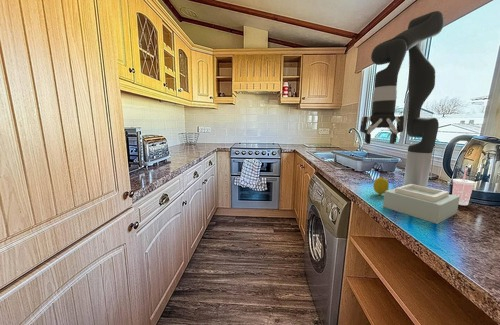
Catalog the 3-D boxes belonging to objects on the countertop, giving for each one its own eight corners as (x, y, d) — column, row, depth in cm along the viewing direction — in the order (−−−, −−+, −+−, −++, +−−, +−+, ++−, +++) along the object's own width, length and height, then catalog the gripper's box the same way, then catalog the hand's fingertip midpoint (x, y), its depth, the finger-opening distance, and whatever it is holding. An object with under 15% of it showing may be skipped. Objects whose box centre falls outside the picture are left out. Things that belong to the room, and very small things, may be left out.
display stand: (404, 199, 86) (406, 181, 85) (456, 213, 73) (460, 192, 72) (382, 206, 78) (385, 187, 77) (437, 223, 65) (441, 200, 64)
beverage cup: (470, 203, 83) (477, 167, 80) (471, 207, 78) (478, 170, 76) (448, 199, 87) (454, 165, 84) (448, 203, 82) (455, 167, 80)
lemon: (383, 193, 94) (385, 175, 93) (390, 197, 89) (392, 178, 87) (370, 192, 95) (372, 175, 93) (376, 196, 89) (378, 178, 88)
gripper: (399, 100, 82) (395, 142, 85) (360, 101, 84) (356, 142, 87) (410, 98, 74) (405, 144, 77) (367, 99, 77) (363, 144, 80)
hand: (379, 143), depth 82 cm, fingers open, 8 cm apart
